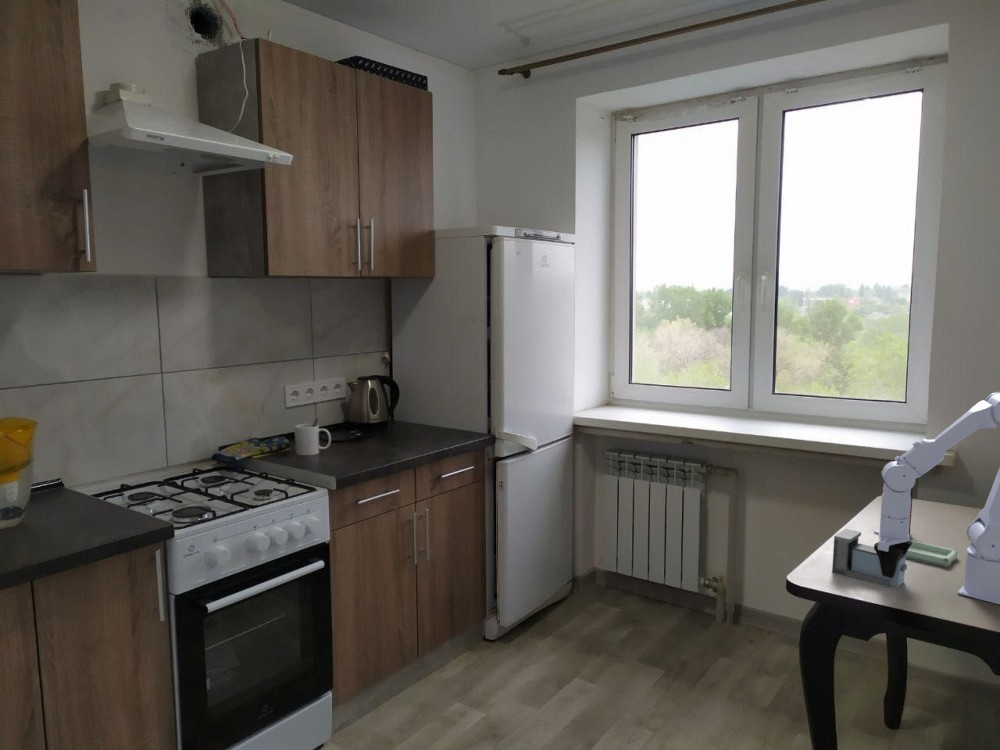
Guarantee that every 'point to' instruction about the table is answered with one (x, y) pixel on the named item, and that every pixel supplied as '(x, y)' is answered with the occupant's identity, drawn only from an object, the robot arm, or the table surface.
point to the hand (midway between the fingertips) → (891, 573)
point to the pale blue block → (876, 564)
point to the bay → (849, 556)
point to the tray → (931, 554)
